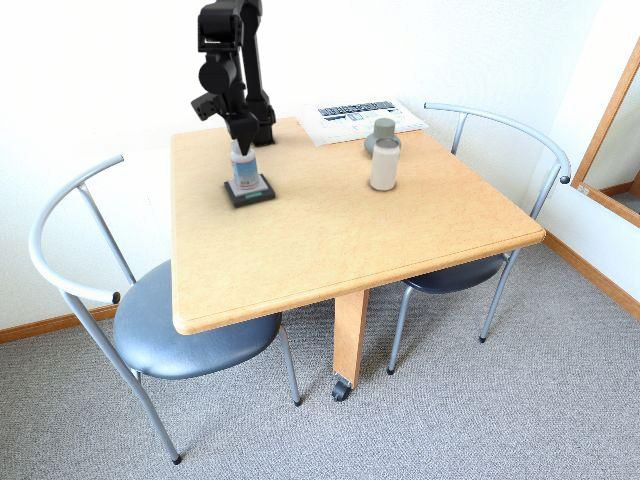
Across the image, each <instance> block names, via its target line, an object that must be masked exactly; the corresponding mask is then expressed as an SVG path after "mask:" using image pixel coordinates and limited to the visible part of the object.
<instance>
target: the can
mask: <svg viewBox="0 0 640 480" xmlns="http://www.w3.org/2000/svg"><path fill="white" fill-rule="evenodd" d="M400 151H401V149H400V148H399V142H398V141H397V140H395V139H392V138H380V139H378V140H377V141H376V144H375V146H374V149H373V156H372V160H371V169H370V170H371V171H370V178H369V184H370V186H371V187H372V188H373V189H374V190H376V191H379V192H380V191H381V192H387V191H390V190H392V189H393V188H394V187H395V185H396V179H397V173H398V167H399V166H398V165H399V159H400Z"/></svg>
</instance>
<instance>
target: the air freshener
mask: <svg viewBox="0 0 640 480" xmlns="http://www.w3.org/2000/svg"><path fill="white" fill-rule="evenodd" d="M395 130H396V121H395V120H394V119H392V118H390V117H389V118H388V117H380V118H377V119H375V121H374V124H373V132H372V133H370V134H368V135H367V136H366V137H365V139H364V141H363V147H364V148H363V149H364V150H365V151H366V153H368V154H369V155H370V156H372V157H373V149H374V146H375V144H376V141H377V140H378V139H380V138H392V139H395V140H397V141H398V142H399V148H400V150H402V149H401V148H402V141H401V139H400V138H399V137H398V136H397V135H396V134H395Z"/></svg>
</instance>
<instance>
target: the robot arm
mask: <svg viewBox="0 0 640 480" xmlns="http://www.w3.org/2000/svg"><path fill="white" fill-rule="evenodd" d="M263 9H264V8H263V1H262V0H215V2H212V3H208V4H205V5H203V7H201V9H200V11H199V14H198V15H197V53H200V54H204V53H206V54H205V55H204V57H205V62H204V63H203V64H202V65H201V66H200V67H199V70H198V75H197V78H198V82H199V84H200V86H201V87H202V88H203V90H205V91H206V92H205V93H203V94H202V95H200V96H198V97H196V98H194V99H192V101H190V105H191V107H192V109H193V110H194V112H195V114H196V115H197V117H198V119H199V120H200V121H201V122H205V121H207V120H208V119H209V118H211V117H213V116H214V115H216V114H217V115H218V116H220V117H221V118H222V119H223V121H224V124H225V127H226V129H227V132H228V133H229V136H230V138H231V140H232V141H234V140H237V143H238V146H239V148H240V151H241V154H242V156H247V154H248V151H249V149H250V146H251V147H252V144H253V146H254V147H255V148H258V147H262V146H269V145H273V144H276V141H275V140H274V134H273V126H274V124H276V123H277V117H276V112H275V109H274V108H273V105H272V104H271V100H270V96H269V95H268V94H267V93H266V91H265V90H264V88H263V80H262V71H261V61H260V53H259V44H258V35H257V34H258V30H259V27H260V26H261V25H260V24H261V23H262V17H263V12H264V11H263ZM240 52H241V56H240ZM241 57H242V63H243V64H241ZM242 66H243V72H244V77H245V78H244V79H245V82H244V79H243V72H242ZM245 91H247V94H245Z"/></svg>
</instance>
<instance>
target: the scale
mask: <svg viewBox="0 0 640 480" xmlns="http://www.w3.org/2000/svg"><path fill="white" fill-rule="evenodd" d="M258 177H259V183H258V184H257V185H256V186H255V187H254V188H251V189H240V188H238V187H237V186H236V185H235V181H234V178H233V179H228V180H227V181H223V185H224V188H225V191H226V193H227V196H228V197H229V200H230V201H231V204H232V206H233V207H234V209H238V208H241V207H245V206H246V207H247V206H250V205H254V204H258V203H263V202H267V201H270V200H274V199H276V192H275V191H274V189H273V187H272V186H271V184H270V183H269V182H268V181H269V180H267V178H266V177H265V175H264V174H263V173H258Z"/></svg>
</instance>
